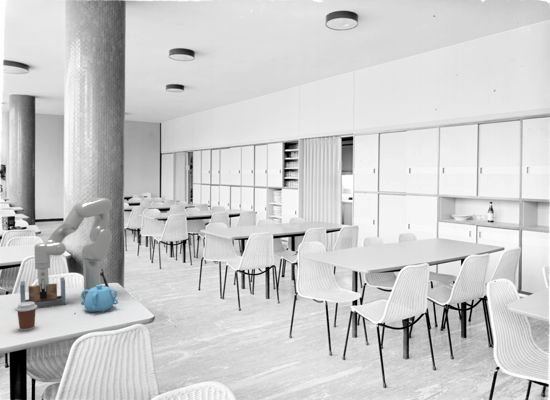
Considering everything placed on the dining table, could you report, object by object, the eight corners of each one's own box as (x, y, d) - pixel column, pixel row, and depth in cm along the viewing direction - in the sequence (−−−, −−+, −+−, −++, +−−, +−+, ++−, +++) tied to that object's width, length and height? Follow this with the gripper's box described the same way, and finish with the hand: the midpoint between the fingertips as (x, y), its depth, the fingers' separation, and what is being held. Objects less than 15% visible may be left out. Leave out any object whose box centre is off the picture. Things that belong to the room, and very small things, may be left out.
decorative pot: (79, 309, 245) (78, 285, 244) (107, 303, 256) (107, 280, 255) (90, 316, 233) (89, 290, 232) (120, 309, 244) (119, 285, 243)
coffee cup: (35, 323, 221) (34, 299, 220) (39, 328, 214) (39, 303, 214) (14, 327, 215) (13, 303, 214) (18, 332, 208) (17, 307, 208)
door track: (64, 300, 260) (64, 277, 259) (65, 304, 252) (65, 280, 251) (21, 306, 250) (20, 281, 249) (21, 310, 242) (20, 285, 241)
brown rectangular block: (56, 298, 255) (56, 283, 255) (57, 300, 253) (56, 284, 252) (29, 302, 249) (28, 286, 248) (28, 303, 246) (28, 287, 246)
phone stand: (108, 285, 295) (108, 268, 294) (108, 288, 290) (108, 269, 289) (93, 287, 292) (93, 269, 291) (93, 289, 286) (93, 271, 285)
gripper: (50, 267, 244) (51, 300, 245) (49, 262, 259) (50, 293, 260) (34, 268, 241) (35, 302, 242) (35, 263, 255) (35, 295, 256)
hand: (43, 297), depth 251 cm, fingers closed on brown rectangular block, 3 cm apart
